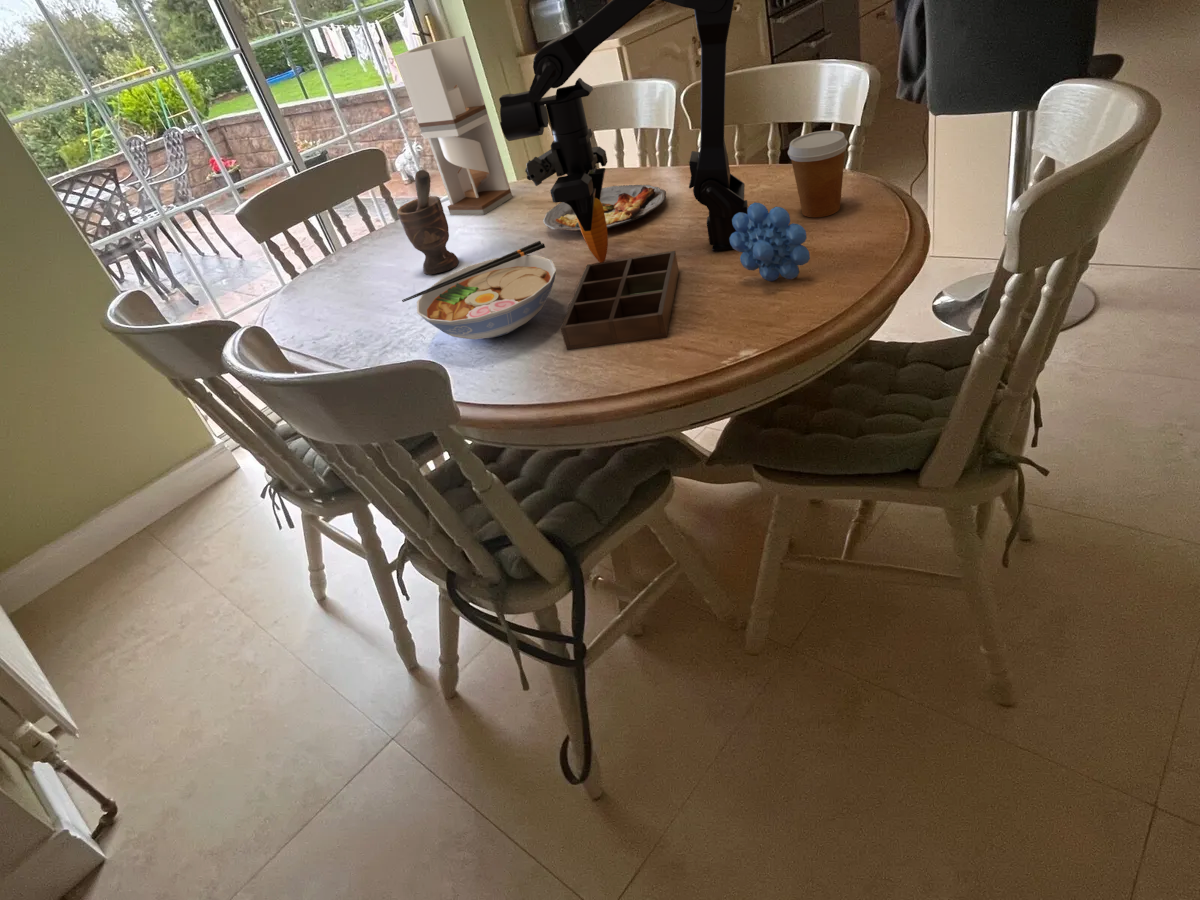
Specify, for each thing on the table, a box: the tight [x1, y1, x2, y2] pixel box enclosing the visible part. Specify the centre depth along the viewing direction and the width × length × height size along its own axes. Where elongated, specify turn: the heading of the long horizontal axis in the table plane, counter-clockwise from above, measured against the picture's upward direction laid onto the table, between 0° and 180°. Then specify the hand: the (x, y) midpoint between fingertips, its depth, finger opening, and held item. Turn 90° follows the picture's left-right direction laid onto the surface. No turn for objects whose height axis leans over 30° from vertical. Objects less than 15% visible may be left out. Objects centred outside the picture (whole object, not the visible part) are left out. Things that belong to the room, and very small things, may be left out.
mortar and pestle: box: [396, 169, 459, 276], centre depth 144 cm, size 12×9×20 cm
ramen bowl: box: [401, 240, 557, 340], centre depth 118 cm, size 25×23×8 cm
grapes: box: [729, 202, 811, 282], centre depth 107 cm, size 12×7×12 cm, turn 62°
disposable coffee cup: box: [787, 129, 849, 218], centre depth 125 cm, size 10×10×12 cm
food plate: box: [542, 184, 667, 232], centre depth 151 cm, size 25×23×4 cm
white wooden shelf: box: [394, 35, 513, 216], centre depth 169 cm, size 11×11×35 cm
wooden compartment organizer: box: [560, 250, 680, 350], centre depth 114 cm, size 15×22×4 cm
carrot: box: [577, 198, 609, 263], centre depth 128 cm, size 5×5×15 cm
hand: (591, 223), depth 128 cm, fingers closed on carrot, 6 cm apart
